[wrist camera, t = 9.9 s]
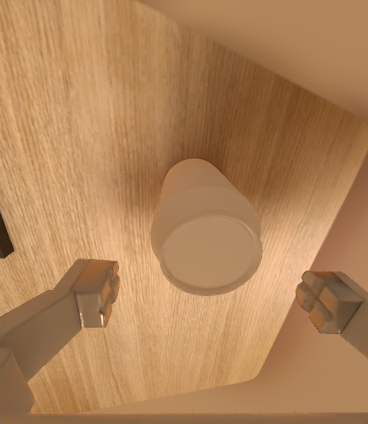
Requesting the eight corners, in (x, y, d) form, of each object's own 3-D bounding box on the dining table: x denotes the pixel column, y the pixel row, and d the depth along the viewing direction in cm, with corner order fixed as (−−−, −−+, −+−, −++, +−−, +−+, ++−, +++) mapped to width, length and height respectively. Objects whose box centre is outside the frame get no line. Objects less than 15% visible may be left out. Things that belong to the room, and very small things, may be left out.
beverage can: (180, 221, 21) (182, 319, 10) (152, 174, 19) (117, 237, 8) (229, 197, 20) (290, 279, 9) (207, 145, 18) (253, 172, 7)
